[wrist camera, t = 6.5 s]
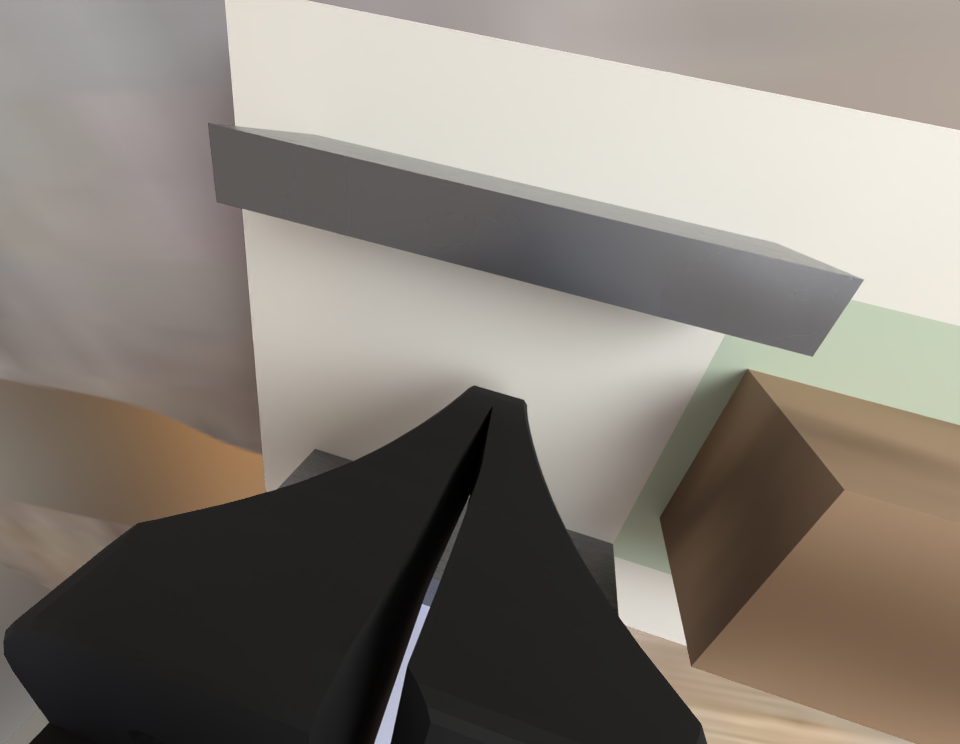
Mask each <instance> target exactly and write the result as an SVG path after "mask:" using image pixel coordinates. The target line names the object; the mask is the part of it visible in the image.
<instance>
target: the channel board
mask: <svg viewBox="0 0 960 744" xmlns="http://www.w3.org/2000/svg"><path fill="white" fill-rule="evenodd" d="M225 7H226V19H227V31H228V43H229V55H230V67H231V79H232V91H233V103H234V115H235V126H240V127H249V128H258V129H268V130H277V131H286V132H296V133H305V134H314V135H319V136H323V137H327V138H332V139H336V140H340V141H344V142H349V143H353V144H357V145H361V146H366V147H370V148H374V149H378V150H383V151H387V152H391V153H395V154H400V155H404V156H408V157H413V158H417V159H421V160H425V161H430V162H434V163H438V164H442V165H447V166H451V167H455V168H459V169H464V170H468V171H472V172H476V173H481V174H485V175H489V176H493V177H498V178H502V179H506V180H510V181H515V182H519V183H523V184H528V185H532V186H536V187H540V188H545V189H549V190H553V191H557V192H562V193H566V194H570V195H574V196H579V197H583V198H587V199H591V200H596V201H600V202H604V203H608V204H613V205H617V206H621V207H626V208H630V209H634V210H638V211H643V212H647V213H651V214H655V215H660V216H664V217H668V218H672V219H677V220H681V221H685V222H689V223H694V224H698V225H702V226H706V227H711V228H715V229H719V230H723V231H728V232H732V233H736V234H741V235H745V236H749V237H753V238H758V239H762V240H766V241H770V242H775V243H777V244H779V245H782V246H784V247H787V248H789V249H792V250H794V251H796V252H799V253H801V254H804V255H806V256H808V257H811V258H813V259H816V260H818V261H820V262H823V263H825V264H828V265H830V266H833V267H835V268H837V269H840V270H842V271H845V272H847V273H849V274H852V275H854V276H857V277H859V278H862V279H864V281H863V282H862V284H861V285H860V287H859V288H858V290H857V291H856V293H855V294H854V296H853V297H852V299H851V300H850V302H849V303H848V305H847V306H846V308H845V309H844V311H843V312H842V314H841V315H840V317H839V318H838V320H837V321H836V323H835V324H834V326H833V327H832V329H831V330H830V332H829V333H828V335H827V336H826V338H825V339H824V341H823V342H822V344H821V345H820V347H819V348H818V350H817V351H816V353H815V354H814V356H813V357H811V356H807V355H803V354H800V353H796V352H792V351H788V350H784V349H780V348H777V347H773V346H769V345H765V344H761V343H757V342H753V341H750V340H746V339H742V338H738V337H734V336H730V335H727V334H723V333H719V332H715V331H711V330H707V329H703V328H700V327H696V326H692V325H688V324H684V323H680V322H676V321H673V320H669V319H665V318H661V317H657V316H653V315H650V314H646V313H642V312H638V311H634V310H630V309H626V308H623V307H619V306H615V305H611V304H607V303H603V302H599V301H596V300H592V299H588V298H584V297H580V296H576V295H573V294H569V293H565V292H561V291H557V290H553V289H549V288H546V287H542V286H538V285H534V284H530V283H526V282H523V281H519V280H515V279H511V278H507V277H503V276H499V275H496V274H492V273H488V272H484V271H480V270H476V269H472V268H469V267H465V266H461V265H457V264H453V263H449V262H446V261H442V260H438V259H434V258H430V257H426V256H422V255H419V254H415V253H411V252H407V251H403V250H399V249H395V248H392V247H388V246H384V245H380V244H376V243H372V242H369V241H365V240H361V239H357V238H353V237H349V236H345V235H342V234H338V233H334V232H330V231H326V230H322V229H318V228H315V227H311V226H307V225H303V224H299V223H295V222H292V221H288V220H284V219H280V218H276V217H272V216H268V215H265V214H261V213H257V212H253V211H249V210H245V209H242V212H243V224H244V236H245V248H246V260H247V273H248V285H249V297H250V309H251V321H252V333H253V345H254V357H255V369H256V381H257V393H258V406H259V418H260V430H261V442H262V454H263V466H264V478H265V490H266V492H269V491H273V490H276V489H278V487H279V486H280V485H281V484H282V483H283V482H284V481H285V480H286V479H287V478H288V477H289V476H290V475H291V474H292V473H293V472H294V470H295V469H296V468H297V467H298V466H299V465H300V464H301V463H302V462H303V461H304V460H305V459H306V458H307V457H308V456H309V454H310V453H311V452H312V451H313V450H314V449H318V450H321V451H324V452H327V453H330V454H333V455H336V456H340V457H343V458H346V459H349V460H352V461H354V460H356V459H358V458H361V457H363V456H365V455H367V454H369V453H371V452H373V451H375V450H377V449H379V448H381V447H383V446H385V445H386V444H388V443H390V442H392V441H394V440H395V439H397V438H399V437H400V436H402V435H404V434H405V433H407V432H409V431H410V430H412V429H414V428H415V427H417V426H419V425H420V424H422V423H423V422H425V421H426V420H428V419H429V418H430V417H432V416H433V415H435V414H436V413H438V412H439V411H440V410H442V409H443V408H445V407H446V406H447V405H449V404H450V403H451V402H452V401H454V400H455V399H456V398H457V397H459V396H460V395H461V394H462V393H463V392H465V391H466V390H467V389H468V388H470V387H472V386H474V385H475V386H478V387H482V388H485V389H489V390H492V391H496V392H499V393H502V394H506V395H509V396H513V397H516V398H520V399H523V400H524V401H525V402H526V404H527V413H528V421H529V426H530V431H531V436H532V440H533V444H534V447H535V451H536V454H537V458H538V461H539V464H540V467H541V470H542V473H543V476H544V479H545V481H546V484H547V487H548V489H549V492H550V494H551V497H552V499H553V501H554V504H555V506H556V508H557V511H558V513H559V515H560V517H561V519H562V521H563V523H564V525H565V527H566V529H568V530H571V531H574V532H578V533H581V534H584V535H587V536H590V537H593V538H596V539H599V540H603V541H606V542H609V543H612V544H613V550H614V563H615V575H616V588H617V601H618V614H619V618H620V619H621V620H622V622H623V623H624V625H626V626H629V627H632V628H635V629H638V630H640V631H643V632H646V633H649V634H652V635H655V636H658V637H661V638H664V639H667V640H670V641H673V642H676V643H679V644H682V645H685V646H687V644H686V640H685V635H684V630H683V626H682V621H681V616H680V612H679V607H678V602H677V598H676V593H675V588H674V584H673V579H672V575H671V570H670V565H669V561H668V556H667V551H666V547H665V542H664V537H663V533H662V528H661V523H660V519H659V518H660V516H661V514H662V513H663V511H664V509H665V508H666V506H667V504H668V503H669V501H670V499H671V498H672V496H673V494H674V492H675V491H676V489H677V487H678V486H679V484H680V482H681V481H682V479H683V477H684V476H685V474H686V472H687V471H688V469H689V467H690V465H691V464H692V462H693V460H694V459H695V457H696V455H697V454H698V452H699V450H700V449H701V447H702V445H703V443H704V442H705V440H706V438H707V437H708V435H709V433H710V432H711V430H712V428H713V427H714V425H715V423H716V422H717V420H718V418H719V416H720V415H721V413H722V411H723V410H724V408H725V406H726V405H727V403H728V401H729V400H730V398H731V396H732V394H733V393H734V391H735V389H736V388H737V386H738V384H739V383H740V381H741V379H742V378H743V376H744V374H745V373H746V371H747V369H751V370H754V371H758V372H762V373H766V374H769V375H773V376H777V377H781V378H784V379H788V380H792V381H796V382H799V383H803V384H807V385H811V386H814V387H818V388H822V389H826V390H829V391H833V392H837V393H841V394H844V395H848V396H852V397H856V398H859V399H863V400H867V401H871V402H874V403H878V404H882V405H886V406H889V407H893V408H897V409H901V410H904V411H908V412H912V413H916V414H920V415H923V416H927V417H931V418H935V419H938V420H942V421H946V422H950V423H953V424H957V425H960V130H955V129H950V128H945V127H940V126H935V125H930V124H925V123H920V122H915V121H910V120H905V119H900V118H895V117H890V116H885V115H880V114H875V113H870V112H865V111H860V110H855V109H850V108H845V107H840V106H835V105H830V104H824V103H819V102H814V101H809V100H804V99H799V98H794V97H789V96H784V95H779V94H774V93H769V92H764V91H759V90H754V89H749V88H744V87H739V86H734V85H729V84H724V83H719V82H714V81H709V80H704V79H699V78H694V77H689V76H684V75H679V74H674V73H669V72H664V71H659V70H654V69H649V68H644V67H639V66H634V65H629V64H624V63H618V62H613V61H608V60H603V59H598V58H593V57H588V56H583V55H578V54H573V53H568V52H563V51H558V50H553V49H548V48H543V47H538V46H533V45H528V44H523V43H518V42H513V41H508V40H503V39H498V38H493V37H488V36H483V35H478V34H473V33H468V32H463V31H458V30H453V29H448V28H443V27H438V26H433V25H428V24H423V23H418V22H413V21H407V20H402V19H397V18H392V17H387V16H382V15H377V14H372V13H367V12H362V11H357V10H352V9H347V8H342V7H337V6H332V5H327V4H322V3H317V2H312V1H307V0H225ZM469 496H470V495H469Z"/></svg>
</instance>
